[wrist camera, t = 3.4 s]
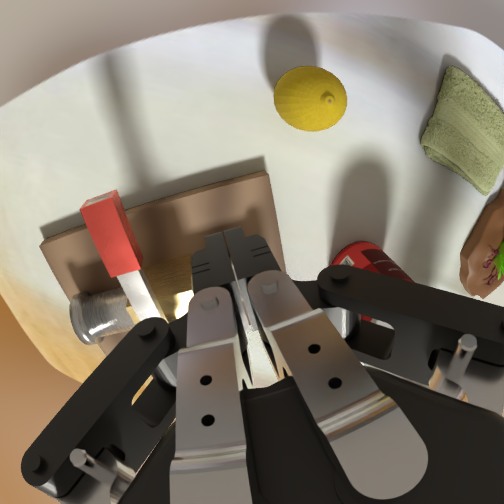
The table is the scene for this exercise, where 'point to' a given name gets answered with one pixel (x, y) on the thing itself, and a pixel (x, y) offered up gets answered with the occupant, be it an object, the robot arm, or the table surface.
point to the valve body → (120, 309)
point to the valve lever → (120, 251)
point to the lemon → (310, 98)
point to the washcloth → (466, 131)
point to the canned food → (370, 265)
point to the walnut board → (169, 234)
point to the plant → (485, 251)
